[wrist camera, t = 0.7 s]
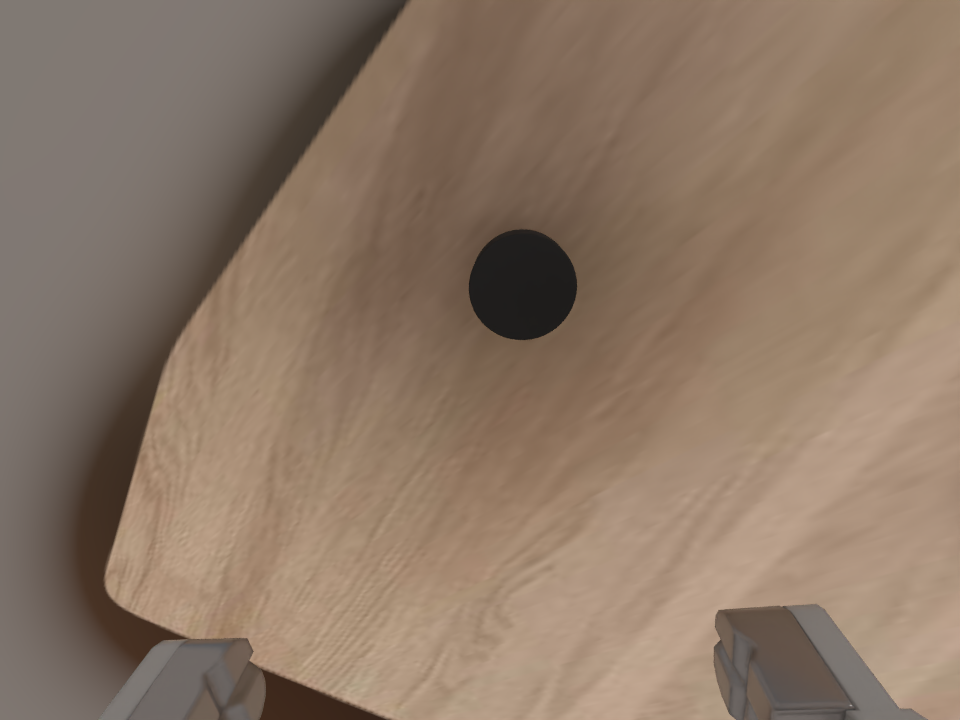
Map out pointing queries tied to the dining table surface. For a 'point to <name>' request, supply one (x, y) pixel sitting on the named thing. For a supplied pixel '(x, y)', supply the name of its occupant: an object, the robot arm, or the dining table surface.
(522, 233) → the stopper
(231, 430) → the dining table surface
